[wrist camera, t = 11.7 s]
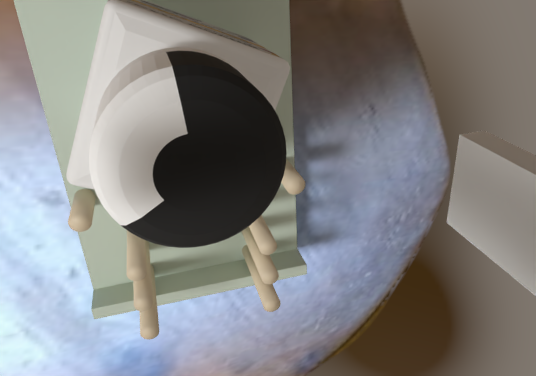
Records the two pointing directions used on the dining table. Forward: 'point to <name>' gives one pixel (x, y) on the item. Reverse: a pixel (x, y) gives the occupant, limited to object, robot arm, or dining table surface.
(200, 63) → the container
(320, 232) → the dining table surface
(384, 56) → the dining table surface
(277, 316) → the dining table surface
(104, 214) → the dish rack
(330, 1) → the dining table surface
